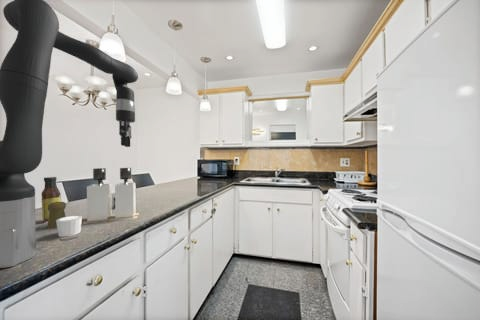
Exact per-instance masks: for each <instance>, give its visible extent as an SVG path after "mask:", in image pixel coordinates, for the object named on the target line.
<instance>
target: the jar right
mask: <svg viewBox="0 0 480 320" xmlns="http://www.w3.org/2000/svg"><path fill="white" fill-rule="evenodd" d="M136 187H137V186H136V182H128V184H127V185H124V182H120V183H119V182H118V183H117V184H115V185H114V195H115V208H114V210H115V212H114V215H115V219H124V218H133V217H134V216H135V214H136V212H137V209H136V208H137V206H136V205H137V204H136V202H137V200H136V198H137V197H136V196H137V195H136V192H137V191H136V189H137V188H136Z"/></svg>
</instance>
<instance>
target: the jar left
mask: <svg viewBox="0 0 480 320" xmlns="http://www.w3.org/2000/svg"><path fill="white" fill-rule="evenodd" d="M111 215H112V183H102V186H98V183H96V184H93V183H92V184H90V185H87V186H86V216H87V217H86V220H87V222H96V221H105V220H108V219H109V218H110V217H111Z"/></svg>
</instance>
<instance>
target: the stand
mask: <svg viewBox="0 0 480 320" xmlns="http://www.w3.org/2000/svg"><path fill="white" fill-rule="evenodd" d="M139 214H140V211H136V214H135V216H134V217H133V218H124V219H115V214H111V217H110V218H109V219H108V220H105V221H96V222H87V219H85V221H83V222H81V225H86V224H94V223H103V222H104V223H105V222H106V223H107V222H114V221H115V222H116V221H123V220H125V221H126V220H132V219H138V217H139Z"/></svg>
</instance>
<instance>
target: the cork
mask: <svg viewBox="0 0 480 320" xmlns="http://www.w3.org/2000/svg"><path fill="white" fill-rule="evenodd" d="M66 207H67V204H66V202H65V201H61V202H53V203H50V204H49V205H48V210H49V211H50V213H49V219H48V221H47V226H46V228H47V229H48V230H49V229H51V230H52V229H57V223H56V220H57V219H60V218H63V217H66V213H65V209H66Z"/></svg>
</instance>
